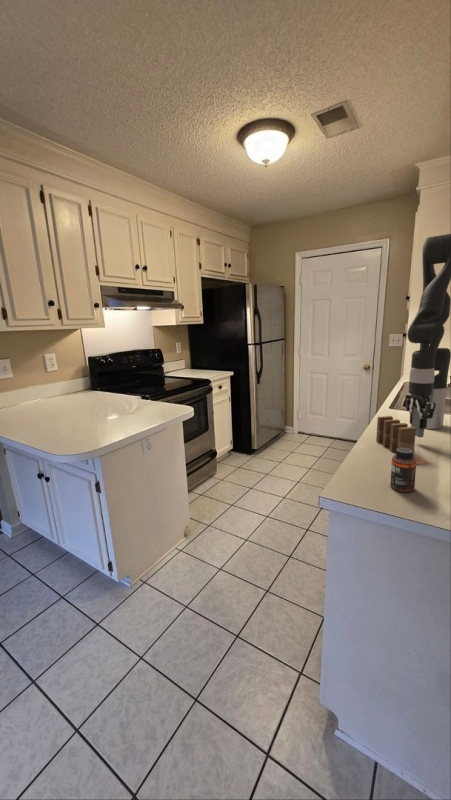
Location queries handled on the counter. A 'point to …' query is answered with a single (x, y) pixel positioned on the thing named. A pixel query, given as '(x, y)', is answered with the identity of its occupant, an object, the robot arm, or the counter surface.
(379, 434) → the domino
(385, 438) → the domino
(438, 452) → the counter surface
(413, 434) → the domino
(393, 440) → the domino
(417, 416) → the domino
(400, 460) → the supplement bottle
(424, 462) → the end pad
